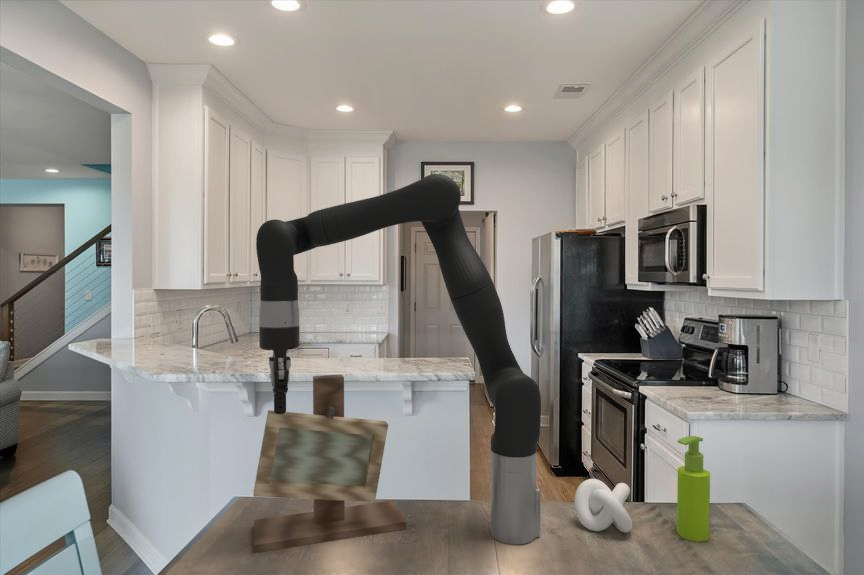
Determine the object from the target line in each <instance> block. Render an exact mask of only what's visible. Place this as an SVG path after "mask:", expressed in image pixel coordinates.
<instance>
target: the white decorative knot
mask: <svg viewBox="0 0 864 575" xmlns="http://www.w3.org/2000/svg"><path fill="white" fill-rule="evenodd" d="M630 493H631V488H630V487H629V485H628V484H626V483H625V482H619V483H617V484H616V485H615V486H614V488H613V489H612V490H611V489H610V487H608V485H606V483H604V482H603V481H601V480H600V479H598V478H588V479H586V480H584V481H582V482H581V483H580V484H579V486H578V487H577V489H576V491H575V495H574V502H573V503H574V511H575V514H576V516H577V519H578V521H579V522H580V523H581V525H582V526H583V527H585V528H586V529H588V530H590V531H592V532H593V531H594V532H601V531H604V530H606V529H608V528H609V527H610V526H611V525H612V524H613V525H614V526H615V527H616V529H617V530H618V531H620V532H621V533H625V534H627V533H630V532H631V531H632V530H633V522H632V518H631V516H630V515H629V513H628V511H627V510H626V508H625V507H624V506H623V505H624V503H625V502H626V500H627V499H628V497H629V495H630Z"/></svg>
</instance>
